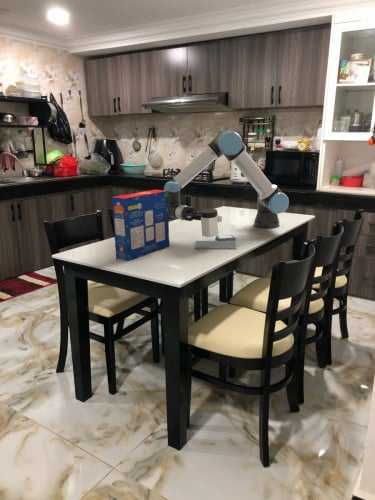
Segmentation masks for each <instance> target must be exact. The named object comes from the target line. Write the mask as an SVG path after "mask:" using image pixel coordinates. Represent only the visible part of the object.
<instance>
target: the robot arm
mask: <svg viewBox="0 0 375 500" xmlns="http://www.w3.org/2000/svg"><path fill="white" fill-rule="evenodd" d="M222 156H224V157H225V159H226V160H227V161H228V162H232V163H233V164H234V165H235V166H236V167H237V169H238V170H239V171H240V172H241V173H242V175H243V176H244V177H245V178H246V180H247V181H248V182H249V183H250V184H251V186H252V187H253V188H254V190H255V191H256V192H257V205H256V206H257V207H256V208H257V211H256V215H255V218H254V221H253V226H254V227H257V228H264V229H273V228H274V229H275V228H278V227H280V220H279V216H278V215H279V214H282V213H283V212H285V211H286V210H287V209H288V207H289V203H290V200H289V197H288V195H286V193H284V192H282V191H281V189H280V188H279V187H278V185H276V184H272V183H271V181H270V180H269V179H268V178H267V176H266V175H265V174H264V172H263V171H262V170H261V169H260V167H259V166H258V165H257V163H256V162H255V161H254V160H253V158H252V157H251V156H250V155H249V153H248V152H247V146H246V145H245V144H244V142H243V140H242V137H241V135H240V134H239V133H237V132H235V131H233V130H227V131H222V132H220V133H218V134H217V135H216V136H215V137H214V138H213V139H212V140H211V141H210V142H209V143H208V144H207V145H206V148H205V149H204V150H203V151H202V152H201V153H200V154H199V155H197V156H196V157H195V158H194V159H193V160H192V161H191V162H190V163H189V164H187V166H185V167H184V168H183V169H182V170H181V171H179V173H178V174H176V175H175V176H174V177H173V178H172V179H171V180H170V181H167V182H166V183H165V184H164V186H163V190H164V191H168V218H172V219H176V220H177V219H178V220H181V221H183V222H184V221H187V222H191V221H194V220H195V221H200V222H201V210H200V211H199V210H196V209H195V208H194V207H193V206H189V205H184V204H183V205H182V204H181V190H182V189H183V188H184V187H185V186H186V185H188V184H189V183H190V182H191V181H192V180H194V178H195V177H197V175H199V174H200V173H202V171H203V170H205V168H207V167H208V166H209V165H210V164H211V163H213V161H214V160H215V159H216V160H218V159H219V158H220V157H222ZM222 220H223V216H222V215H218V223H221V222H223V221H222Z"/></svg>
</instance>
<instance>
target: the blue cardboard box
mask: <svg viewBox="0 0 375 500" xmlns="http://www.w3.org/2000/svg"><path fill="white" fill-rule="evenodd" d="M111 205H112V206H111V207H112V219H113V230H114V231H113V232H114V243H115V245H114V246H115V257H116V259H118V260H122V261H127V262H130V261H133V260H136V259H139V258H142V257H145V256H147V255H151V254H153V253H155V252H159V251H162V250H164V249H168V248H170V229H169V227H170V226H169V225H170V223H169V222H170V221H169V217H168V191H164V189H163V190H162V189H152V190H146V191H145V190H144V191H140V192H133V193H128V194H122V195H116V196H112V197H111Z"/></svg>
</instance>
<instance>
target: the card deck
mask: <svg viewBox="0 0 375 500" xmlns="http://www.w3.org/2000/svg"><path fill="white" fill-rule="evenodd" d="M215 239H216V241H236V240H237V238H236V237H235V236H234V235H233V234H227V235H226V234H223V235H218V236H215Z"/></svg>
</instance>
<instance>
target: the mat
mask: <svg viewBox="0 0 375 500" xmlns="http://www.w3.org/2000/svg"><path fill="white" fill-rule="evenodd" d="M194 246H195V247H194V249H195V250H237V242H236V240H231V241H218V240H196V244H195V245H194Z"/></svg>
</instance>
